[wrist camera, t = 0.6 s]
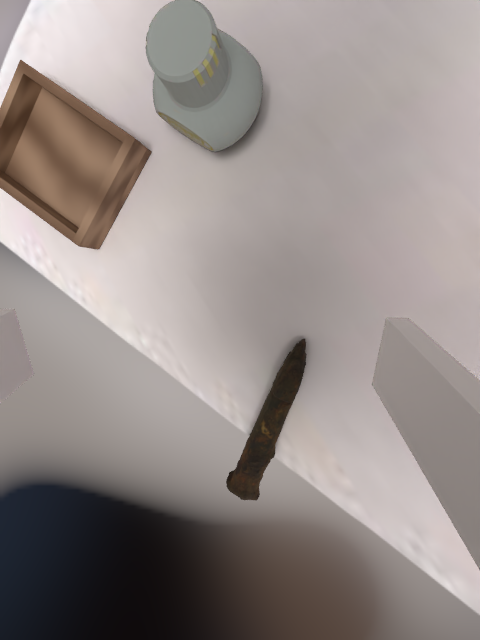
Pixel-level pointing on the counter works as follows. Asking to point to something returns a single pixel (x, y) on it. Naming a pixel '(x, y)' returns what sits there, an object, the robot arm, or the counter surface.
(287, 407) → the hand tool
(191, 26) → the air freshener
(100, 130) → the tray
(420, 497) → the counter surface
